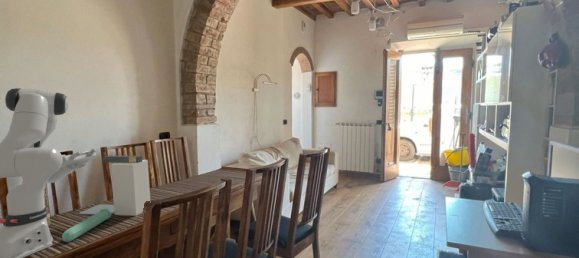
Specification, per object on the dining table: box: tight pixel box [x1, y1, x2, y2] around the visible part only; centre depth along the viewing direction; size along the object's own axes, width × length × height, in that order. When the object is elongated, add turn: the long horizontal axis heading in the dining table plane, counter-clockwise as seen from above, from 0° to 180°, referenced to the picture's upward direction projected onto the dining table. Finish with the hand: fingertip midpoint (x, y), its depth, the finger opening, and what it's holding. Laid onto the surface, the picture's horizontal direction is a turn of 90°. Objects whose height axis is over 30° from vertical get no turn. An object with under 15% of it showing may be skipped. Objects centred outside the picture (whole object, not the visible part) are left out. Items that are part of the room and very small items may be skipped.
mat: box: [77, 203, 115, 216], centre depth 159 cm, size 14×18×1 cm
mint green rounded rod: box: [61, 209, 112, 243], centre depth 133 cm, size 6×6×25 cm
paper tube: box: [44, 183, 51, 227], centre depth 137 cm, size 7×7×25 cm
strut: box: [102, 155, 143, 164], centre depth 155 cm, size 4×20×3 cm, turn 82°
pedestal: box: [110, 159, 151, 217], centre depth 155 cm, size 12×12×26 cm
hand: (87, 151), depth 158 cm, fingers open, 8 cm apart
